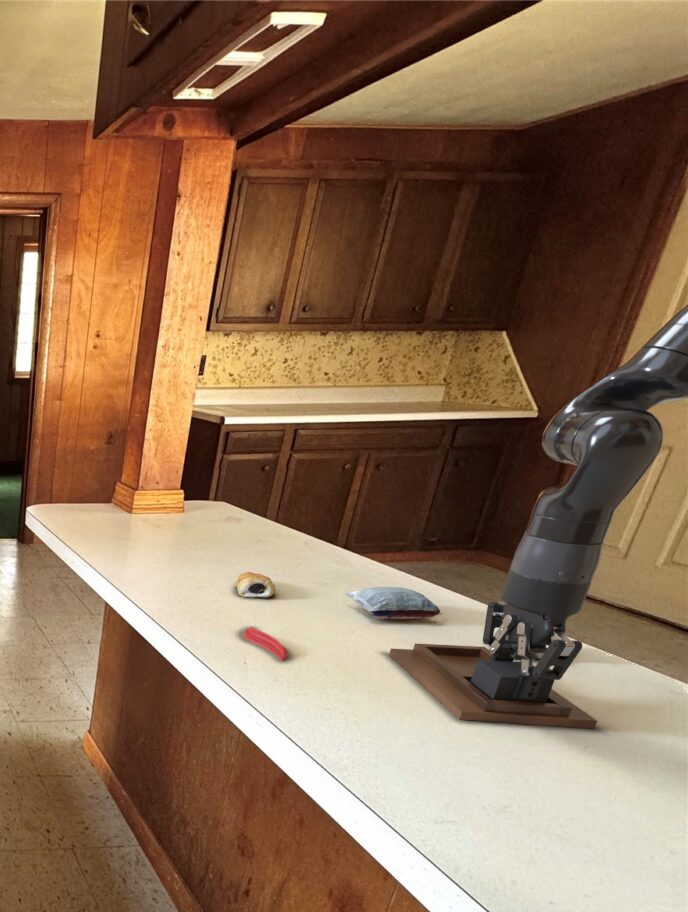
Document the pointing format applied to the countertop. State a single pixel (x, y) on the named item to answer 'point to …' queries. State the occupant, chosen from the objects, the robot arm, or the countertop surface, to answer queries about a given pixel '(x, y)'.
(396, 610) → the packaged food
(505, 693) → the dark grey block
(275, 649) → the cayenne pepper
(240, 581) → the pastry
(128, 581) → the countertop surface
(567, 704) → the brown base tray
